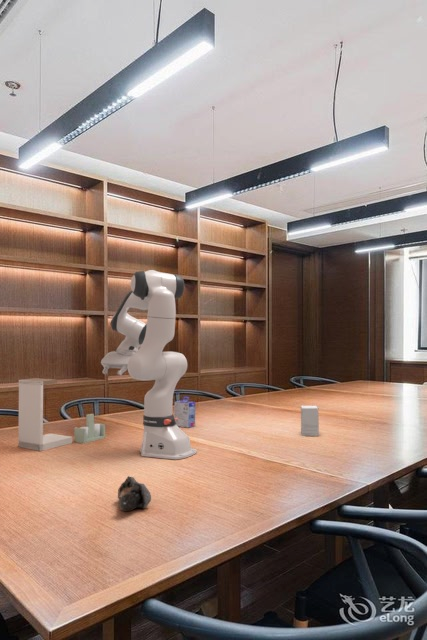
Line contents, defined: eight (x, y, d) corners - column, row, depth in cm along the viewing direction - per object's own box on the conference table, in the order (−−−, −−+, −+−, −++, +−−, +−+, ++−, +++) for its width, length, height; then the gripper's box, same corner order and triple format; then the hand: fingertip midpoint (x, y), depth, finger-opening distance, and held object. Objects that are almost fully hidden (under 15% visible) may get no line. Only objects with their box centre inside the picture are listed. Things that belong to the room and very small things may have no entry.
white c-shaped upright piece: (72, 442, 196) (72, 378, 197) (40, 451, 183) (40, 381, 183) (50, 439, 204) (51, 376, 204) (18, 446, 190) (18, 379, 191)
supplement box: (317, 432, 213) (316, 405, 214) (319, 436, 206) (318, 408, 206) (300, 432, 214) (300, 405, 214) (302, 436, 207) (302, 407, 207)
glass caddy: (105, 438, 205) (105, 413, 206) (84, 443, 195) (84, 417, 195) (95, 436, 209) (95, 411, 209) (74, 442, 198) (74, 415, 199)
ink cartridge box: (196, 426, 230) (195, 397, 230) (188, 428, 225) (188, 398, 226) (181, 424, 236) (180, 395, 236) (173, 425, 231) (173, 396, 232)
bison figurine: (130, 497, 131) (98, 505, 124) (131, 472, 132) (100, 478, 125) (155, 509, 123) (123, 518, 116) (156, 482, 123) (124, 489, 116)
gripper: (107, 346, 226) (91, 368, 217) (138, 347, 215) (124, 370, 206) (113, 355, 229) (98, 377, 221) (145, 356, 218) (130, 379, 210)
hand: (111, 373), depth 214 cm, fingers open, 8 cm apart
